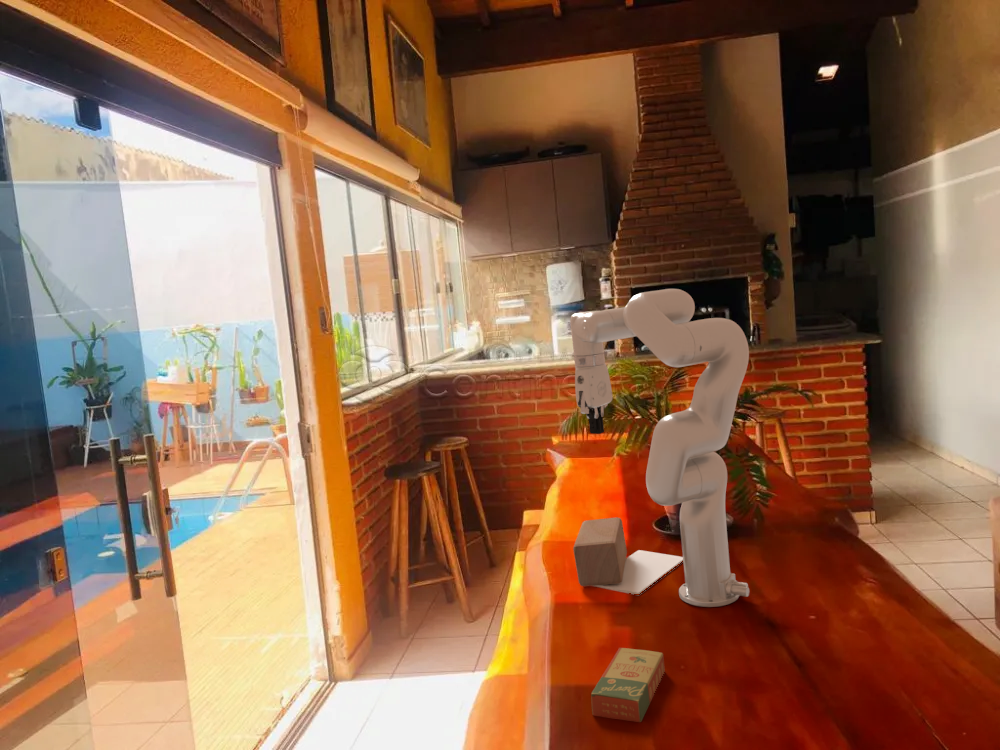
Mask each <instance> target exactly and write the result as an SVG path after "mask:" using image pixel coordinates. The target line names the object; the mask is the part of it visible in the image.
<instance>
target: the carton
mask: <svg viewBox="0 0 1000 750" xmlns="http://www.w3.org/2000/svg"><path fill="white" fill-rule="evenodd" d="M617 649H618V650H617V651H616V652H615V654H614V656H613V658H612V659H611V661H610V663H609V664H608V665H607V668H606V669H605V670H604V672H603V674H602V675H601V677H600V679H599V680H598V682H597V683H596V685H595V687H594V688H593V690H591V695H590V696H591V697H590V698H591V713H592V716H595V717H602V718H608V719H616V720H621V721H628V722H629V721H630V722H635V723H641V722H643V719H644V717H645V714H646V713H647V711H648V709H649V706H650V704H651V702H652V700H653V698H654V696H655V694H656V692H657V690H658V688H657V687H659V686H658V685H660V684H661V681H662V679H663V677H664V675H665V673H666V671H665V659H664V653H663V652H659V651H652V650H648V649H647V650H646V649H634V648H629V647H627V648H626V647H618V648H617ZM664 672H665V673H664ZM663 674H664V675H663ZM662 676H663V677H662ZM661 678H662V679H661ZM659 683H660V684H659ZM656 689H657V690H656ZM655 691H656V692H655ZM654 693H655V694H654Z"/></svg>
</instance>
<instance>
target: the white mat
mask: <svg viewBox="0 0 1000 750" xmlns="http://www.w3.org/2000/svg"><path fill="white" fill-rule="evenodd" d="M682 561H683V556H679V555H673V554H666V553H660V552H653V551H647V550H642V549H641V550H640V549H638V550H636V551H635V552H633V553H632V554H631V555H628V556H626V560H625V566H624V572H623V578H622V582H620V583H618V584H606V585H594V586H593V587H595V588H596V587H597V588H600V589H604V590H605V589H606V590H609V591H615V592H619V593H625V594H629V593H631V594H630V595H634V594H640V593H641V592H642V591H644V590H645V589H646V588H648V587H649V586H650V585H652V584H653V583H654V582H656V581H657V580H658V579H659V578H661V577H662V576H663V575H664V574H666V573H667V572H669V571H670V570H671V569H673V568H674V567H675V566H677V565H678V564H680V563H681V562H682ZM682 563H683V562H682ZM682 563H681V564H682ZM681 564H680V565H681ZM678 566H679V565H678ZM678 566H677V567H678ZM674 569H675V568H674ZM674 569H673V570H674ZM670 572H671V571H670ZM670 572H669V573H670ZM661 579H662V578H661ZM657 582H658V581H657ZM657 582H656V583H657ZM653 585H654V584H653ZM653 585H652V586H653ZM649 588H650V587H649ZM649 588H648V589H649ZM645 591H646V590H645ZM645 591H644V592H645ZM641 594H642V593H641ZM641 594H640V595H641Z"/></svg>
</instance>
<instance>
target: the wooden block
mask: <svg viewBox="0 0 1000 750" xmlns="http://www.w3.org/2000/svg"><path fill="white" fill-rule="evenodd" d="M572 550H573V555H574V556H573V557H574V560H575V561H574V562H575V568H576V573H577V578H578V579H577V581H578V584H580V585H579V586H581V587H595V586H594V585H606V584H618V583H620V582H622V578H623V572H624V566H625V560H626V558H627V554H628V549H627V544H626V539H625V533H624V526H623V521H622V518H621V517H617V516H616V517H608V518H599V519H589V520H588V519H587V520H584V521H582V523H581V526H580V528H579V531H578V534H577V537H576V539H575V542H574V545H573V549H572Z"/></svg>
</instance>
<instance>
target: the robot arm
mask: <svg viewBox="0 0 1000 750" xmlns="http://www.w3.org/2000/svg"><path fill="white" fill-rule="evenodd" d="M695 309H696V306H695V301H694V299H693V298H692V296H691V295H690V294H689V293H688V292H686V291H684V290H682V289H679V288H665V289H659V290H658V289H657V290H650V291H644V292H639V293H637V294H635V295H633V296H632V297H631V298H630V299H629V300H628V302H627V304H626V305H625V306H623V307H617V308H616V307H615V308H610V309H603V310H598V311H594V310H592V311H591V310H590V311H580V312H576V313H573V314H572V315H571V316H570V331H571V339H572V350H573V358H574V369H575V370H574V371H575V373H574V388H575V398H576V401H575V402H576V405H577V407H579V408H580V414H583V415H585V414H586V418H587V419H588V426H589V433H590V434H596V435H597V434H598V435H600V434H602V433H604V432H605V428H604V427H605V426H604V418H603V417H604V414H605V413H604V410H605V409H606V408H607V407H608V404H610V403H611V402H612V401H613V391H612V390H613V388H612V384H611V377H610V374H609V370H608V366H607V364H606V359H605V349H604V343H606V342H610V341H611V342H612V341H617V340H623V339H624V340H625V339H629V338H634V337H636V338H638V340H639V341H641V342H642V343H643V344H644V346H646V347H647V349H648V350H649V351H650V352H651V353H653V355H654V356H655V357H656V358H657V359H658V360H659V361H661V362H662V363H663V364H665V365H666V366H669V367H672V368H682V367H683V368H684V367H688V366H693V365H698V364H703V363H707V366H706V368H705V369H704V370H703V371H702V373H701V374H700V375H699V377H698V379H697V382H695V385H694V388H693V393H692V394H693V395H692V399H691V403H690V405H689V407H687V408H686V409H685V410H682V411H677V412H673V413H670V414H668V415H665V416H663V417H662V418H660V420H659V421H658V422H657V423H656V425H655V427H654V429H653V433H652V437H651V443H650V449H649V453H648V454H649V455H648V458H647V459H648V460H647V465H646V471H645V472H646V473H645V484H646V485H645V486H646V488H647V489H646V490H647V493H648V495H649V496H650V499H652V501H653V502H654V503H656V504H657V505H660V506H664V507H670V506H675V505H679V504H681V507H680V509H679V526H680V527H679V529H680V539H681V550H682V557H683V562H682V563H683V573H684V582H685V583H683V584H682V585H681V586H680V587H679V588H678V595H679V598H680V599H681V601H683V602H685V603H686V604H689V605H691V606H695V607H704V608H713V607H714V608H715V607H723V606H726V605H731V604H733V603H734V602H736V601H737V600H738V599H739V597H746V598H747V597H749V596H750V588H749V584H748V583H747V582H742V581H738V580H736V574H735V573H732V572H731V567H730V566H731V565H730V553H729V551H730V550H729V542H728V531H727V530H728V528H727V515H726V494H727V493H726V491H727V483H728V470H727V469H728V468H727V465H726V462H725V461H724V459H723V458H722V456H720V455H719V454H718V453H717V451H719V450H721V449H722V448H725V446H726V445H727V442H728V440H729V437H730V433H731V428H732V425H733V424H732V423H733V419H734V416H735V411H736V408H737V407H736V406H737V401H738V397H739V393H740V389H741V387H742V383H743V381H744V378H745V375H746V373H747V369H748V365H749V358H750V349H749V344H748V339H747V337H746V335H745V332H744V331H743V329H742V327H741V326H740V325H739V324H737V322H735V321H733V320H732V319H729V318H724V317H713V318H712V317H711V318H710V317H709V318H704V319H697V320H693V321H692V320H691V319H692V318H693V316H694V314H695Z"/></svg>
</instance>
